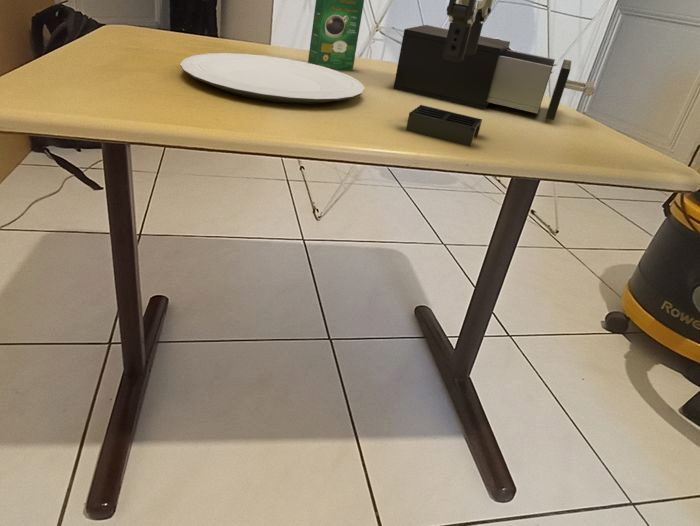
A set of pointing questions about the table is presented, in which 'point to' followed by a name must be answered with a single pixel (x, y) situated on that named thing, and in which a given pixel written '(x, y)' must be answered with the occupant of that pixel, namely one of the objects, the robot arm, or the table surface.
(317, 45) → the coffee box
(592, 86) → the grey box with handle
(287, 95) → the plate
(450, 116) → the box
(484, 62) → the black drawer box
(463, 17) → the robot arm
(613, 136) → the table surface
